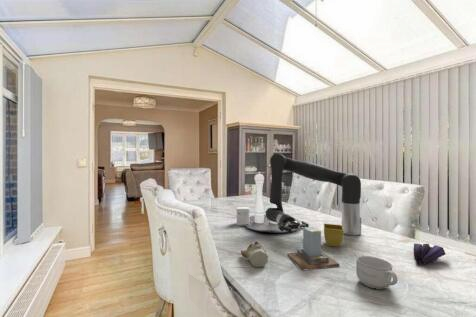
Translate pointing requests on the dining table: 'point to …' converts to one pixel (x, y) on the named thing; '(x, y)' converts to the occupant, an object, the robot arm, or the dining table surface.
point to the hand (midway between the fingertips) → (299, 230)
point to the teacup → (375, 272)
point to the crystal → (427, 253)
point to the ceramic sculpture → (255, 254)
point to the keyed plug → (311, 242)
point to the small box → (243, 215)
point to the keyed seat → (312, 260)
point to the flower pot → (333, 234)
